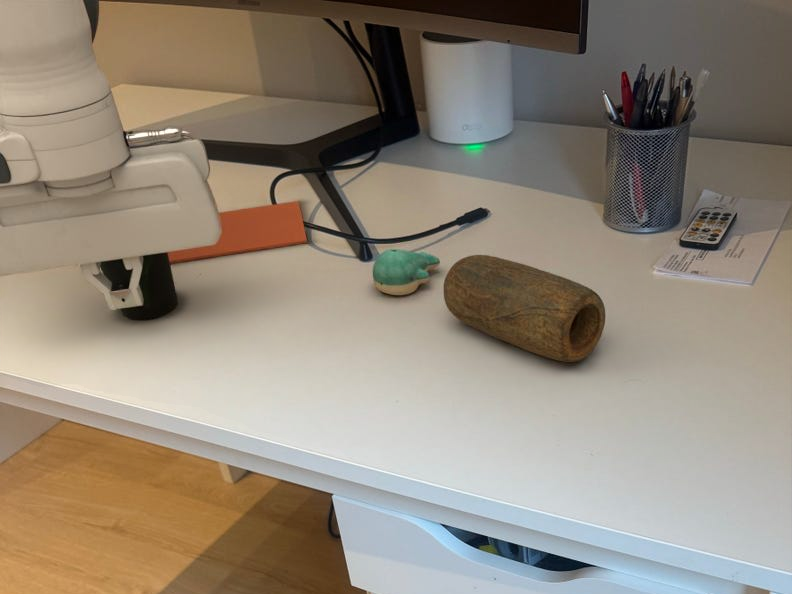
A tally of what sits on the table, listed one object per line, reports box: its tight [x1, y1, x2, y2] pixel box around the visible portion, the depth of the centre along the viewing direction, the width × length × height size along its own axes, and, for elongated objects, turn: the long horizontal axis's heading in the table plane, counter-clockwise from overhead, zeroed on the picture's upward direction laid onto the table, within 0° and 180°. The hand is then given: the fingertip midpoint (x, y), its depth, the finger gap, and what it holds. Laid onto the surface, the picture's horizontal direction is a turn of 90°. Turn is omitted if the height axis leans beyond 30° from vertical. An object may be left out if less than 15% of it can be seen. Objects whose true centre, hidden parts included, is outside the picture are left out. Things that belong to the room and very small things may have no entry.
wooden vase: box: [443, 254, 606, 363], centre depth 78 cm, size 15×7×7 cm, turn 48°
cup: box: [100, 252, 179, 321], centre depth 85 cm, size 8×8×12 cm
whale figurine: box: [372, 248, 441, 296], centre depth 88 cm, size 6×7×4 cm
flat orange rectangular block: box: [167, 200, 308, 265], centre depth 101 cm, size 20×12×1 cm, turn 102°
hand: (127, 305), depth 82 cm, fingers closed
